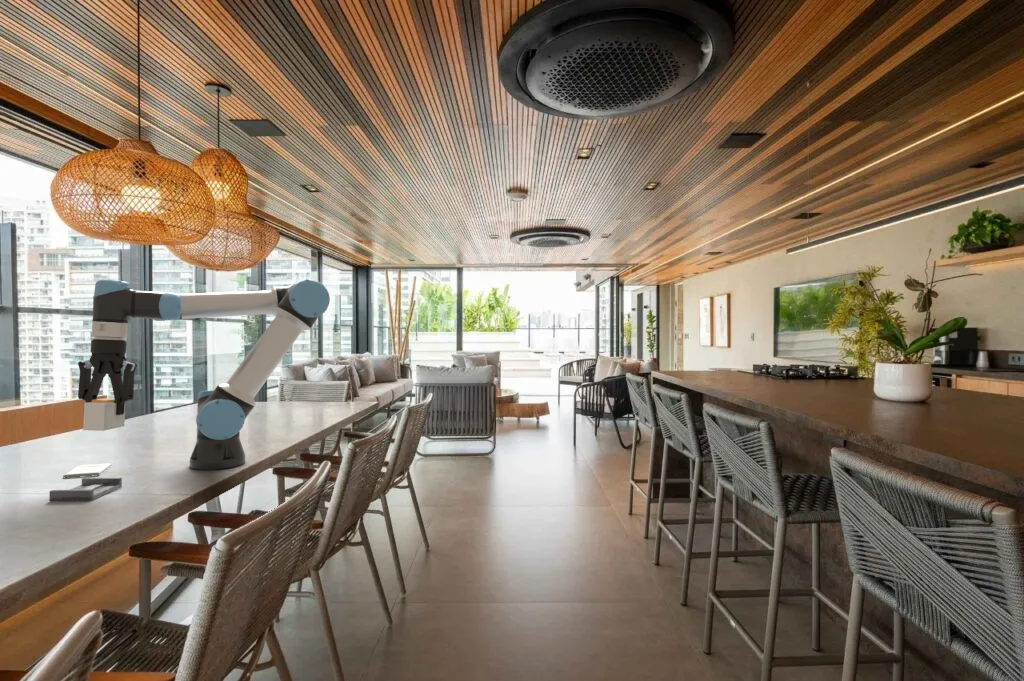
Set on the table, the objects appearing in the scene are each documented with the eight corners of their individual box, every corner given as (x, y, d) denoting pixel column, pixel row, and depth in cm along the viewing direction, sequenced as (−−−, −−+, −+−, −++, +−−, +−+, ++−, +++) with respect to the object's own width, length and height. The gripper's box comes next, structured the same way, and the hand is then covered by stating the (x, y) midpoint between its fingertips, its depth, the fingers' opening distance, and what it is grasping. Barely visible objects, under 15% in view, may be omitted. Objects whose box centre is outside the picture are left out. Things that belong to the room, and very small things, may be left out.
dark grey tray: (121, 487, 138) (121, 477, 138) (90, 501, 126) (90, 490, 126) (84, 487, 137) (84, 477, 137) (49, 501, 125) (49, 491, 125)
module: (124, 426, 144) (125, 398, 144) (103, 430, 136) (104, 401, 136) (105, 425, 143) (106, 397, 144) (82, 430, 135) (84, 400, 136)
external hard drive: (62, 480, 146) (78, 470, 157) (99, 478, 149) (112, 467, 160) (62, 474, 146) (78, 464, 157) (99, 472, 149) (112, 462, 160)
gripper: (62, 336, 136) (57, 427, 135) (135, 340, 137) (130, 430, 136) (84, 337, 143) (79, 423, 143) (153, 340, 144) (148, 426, 144)
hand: (104, 426), depth 140 cm, fingers closed on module, 5 cm apart
